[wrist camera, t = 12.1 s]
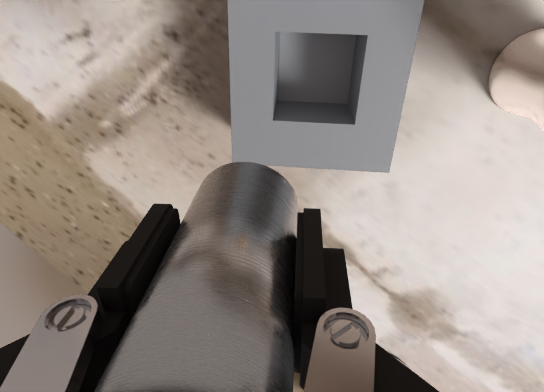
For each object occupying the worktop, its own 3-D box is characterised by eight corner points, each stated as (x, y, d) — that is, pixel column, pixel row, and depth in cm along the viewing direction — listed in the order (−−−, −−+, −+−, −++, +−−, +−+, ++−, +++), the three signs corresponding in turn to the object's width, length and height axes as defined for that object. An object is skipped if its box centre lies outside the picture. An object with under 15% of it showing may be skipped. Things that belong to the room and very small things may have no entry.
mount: (374, 141, 31) (388, 172, 25) (244, 134, 31) (232, 163, 26) (404, -27, 25) (430, -31, 19) (242, -31, 25) (226, -36, 20)
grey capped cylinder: (309, 260, 15) (313, 612, 7) (192, 255, 16) (56, 583, 7) (314, 150, 13) (332, 487, 4) (175, 147, 13) (-66, 452, 5)
